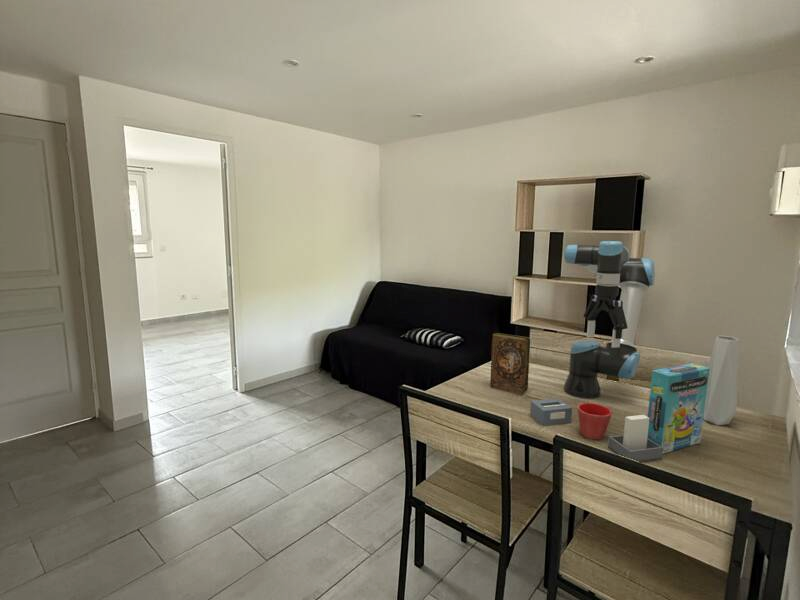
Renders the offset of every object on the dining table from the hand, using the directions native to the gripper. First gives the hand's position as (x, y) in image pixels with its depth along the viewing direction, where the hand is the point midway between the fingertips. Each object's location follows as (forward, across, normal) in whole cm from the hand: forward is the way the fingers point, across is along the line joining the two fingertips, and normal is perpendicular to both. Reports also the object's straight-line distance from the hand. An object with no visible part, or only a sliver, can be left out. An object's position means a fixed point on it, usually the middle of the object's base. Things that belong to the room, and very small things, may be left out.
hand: (602, 342), depth 155 cm
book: (+32, -38, -17) cm, 52 cm away
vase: (+32, +8, +46) cm, 56 cm away
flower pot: (+32, +8, -7) cm, 34 cm away
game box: (+32, +20, +15) cm, 40 cm away
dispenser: (+32, -6, -15) cm, 36 cm away
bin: (+32, +22, -2) cm, 39 cm away
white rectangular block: (+31, +22, -2) cm, 38 cm away
